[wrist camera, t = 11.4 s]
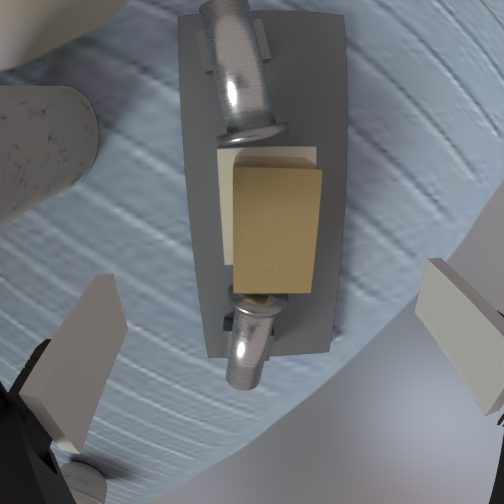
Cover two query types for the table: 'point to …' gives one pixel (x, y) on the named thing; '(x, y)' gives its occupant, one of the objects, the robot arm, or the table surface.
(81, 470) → the teacup
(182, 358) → the table surface
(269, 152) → the off-white flat plate
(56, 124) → the speckled tin can
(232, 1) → the shaft
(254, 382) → the shaft
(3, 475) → the robot arm
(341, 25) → the board
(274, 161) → the coupler
